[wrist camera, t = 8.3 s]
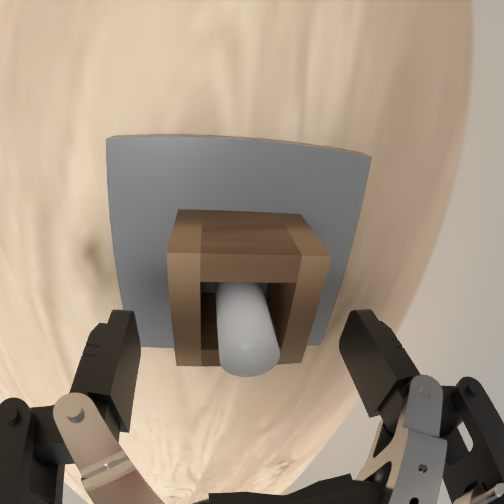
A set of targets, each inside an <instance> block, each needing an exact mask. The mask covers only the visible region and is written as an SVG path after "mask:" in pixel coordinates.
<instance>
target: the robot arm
mask: <svg viewBox="0 0 504 504" xmlns="http://www.w3.org/2000/svg"><path fill="white" fill-rule="evenodd" d="M339 349H340V353H341V355H342V357H343V360H344V362H345V364H346V366H347V368H348V371H349V373H350V375H351V377H352V379H353V381H354V384H355V386H356V388H357V390H358V393H359V395H360V397H361V399H362V402H363V404H364V406H365V408H366V411H367V413H368V415H369V417H374V416H378V415H381V417H382V420H381V421H380V423H379V426H378V429H377V432H376V436H375V439H374V442H373V445H372V448H371V451H370V454H369V457H368V459H367V462H366V463H365V465H364V467H363V468H362V469H361V471H360V472H359V474H358V476H357V478H356V480H352V477H351V474H346V475H343V476H339V477H335V478H331V479H326V480H322V481H318V482H316V483H314V484H312V485H309V486H307V487H305V488H303V489H300V490H298V491H296V492H293V493H291V494H288V495H271V494H261V493H252V492H234V493H209V499H206V500H202V501H199V502H196V503H193V504H436V503H437V499H438V495H439V490H440V486H441V481H442V478H443V480H444V483H445V486H446V488H447V491H448V494H449V497H450V499H451V502H452V504H504V423H503V421H502V420H501V418H500V416H499V414H498V412H497V410H496V409H495V407H494V405H493V403H492V402H491V400H490V398H489V397H488V395H487V393H486V392H485V390H484V388H483V387H482V385H481V384H480V383H479V382H478V381H477V380H475V379H474V378H472V377H463V378H462V379H461V380H460V381H459V382H458V384H457V385H456V386H441V385H440V384H439V383H438V381H436V380H435V379H434V378H432V377H430V376H428V375H421V374H420V373H419V371H418V370H417V368H416V367H415V365H414V363H413V362H412V360H411V359H410V357H409V356H408V354H407V352H406V351H405V349H404V348H402V345H401V343H400V342H399V340H397V337H396V336H395V334H394V333H393V331H392V330H391V328H389V327H388V326H387V325H386V324H385V323H383V322H382V321H379V320H378V319H377V317H376V316H375V314H374V313H373V311H372V310H370V309H365V310H353V311H351V312H350V314H349V316H348V319H347V322H346V324H345V327H344V330H343V332H342V335H341V337H340V341H339ZM140 356H141V344H140V338H139V333H138V328H137V323H136V318H135V313H134V311H129V310H113V311H112V312H111V315H110V318H109V321H108V323H107V324H106V323H99V324H98V325H97V326H96V327H95V328H94V329H93V330H92V331H91V332H90V335H89V337H88V340H87V343H86V346H85V348H84V351H83V356H82V357H81V360H80V362H79V365H78V368H77V371H76V374H75V378H74V381H73V384H72V387H71V390H70V392H69V394H66V395H64V396H62V397H61V398H60V399H59V400H58V401H57V402H56V404H55V405H52V406H45V407H33V408H29V406H28V405H27V404H26V403H25V402H24V401H23V400H21V399H19V398H9V399H6V400H4V401H3V402H2V403H1V404H0V504H62V496H63V481H64V470H65V464H76V466H77V468H78V469H79V471H80V473H81V476H82V478H81V481H82V484H83V486H84V488H85V490H86V492H87V493H88V495H89V497H90V498H91V500H92V501H93V503H94V504H165V503H164V502H163V501H162V500H161V499H160V498H159V497H158V495H157V494H156V493H155V492H154V491H153V489H152V488H151V487H150V486H149V484H148V483H147V482H146V481H145V479H144V478H143V477H142V476H141V474H140V473H139V472H138V470H137V469H136V468H135V466H134V465H133V463H132V462H131V461H130V459H129V458H128V456H127V455H126V454H125V452H124V451H123V449H122V448H121V446H120V445H119V443H118V442H119V434H120V432H127V433H129V430H130V421H131V414H132V406H133V399H134V392H135V386H136V380H137V374H138V368H139V362H140ZM462 422H464V424H465V426H466V428H467V430H468V432H469V434H470V436H471V438H472V440H473V448H472V450H471V451H470V452H469V451H468V450H467V447H466V445H465V443H464V441H463V439H462V437H461V435H460V432H459V430H458V428H457V427H458V426H459V425H460V424H461V423H462Z"/></svg>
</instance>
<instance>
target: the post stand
mask: <svg viewBox="0 0 504 504" xmlns="http://www.w3.org/2000/svg"><path fill="white" fill-rule="evenodd" d="M371 158H372V157H371V156H368V155H366V154H363V153H360V152H354V151H349V150H343V149H337V148H331V147H325V146H318V145H311V144H304V143H296V142H287V141H278V140H269V139H258V138H246V137H231V136H212V135H125V136H112V137H110V138H107V139H106V159H107V184H108V200H109V212H110V223H111V232H112V241H113V249H114V256H115V263H116V270H117V276H118V282H119V288H120V293H121V299H122V304H123V309H124V310H129V311H134V313H135V318H136V323H137V328H138V333H139V338H140V344H141V346H142V347H160V348H174V340H173V331H172V321H171V310H170V298H169V285H168V270H167V249H168V245H169V241H170V237H171V234H172V230H173V226H174V223H175V219H176V215H177V212H178V209H193V210H226V211H251V212H272V213H290V214H301V215H302V217H303V218H304V219H305V221H306V222H307V223H308V225H309V226H310V227H311V229H312V230H313V231H314V233H315V234H316V235H317V237H318V238H319V239H320V241H321V242H322V243H323V245H324V246H325V248H326V249H327V250H328V252H329V253H330V255H331V256H332V257H331V261H330V265H329V269H328V273H327V277H326V280H325V284H324V288H323V291H322V295H321V299H320V302H319V306H318V309H317V313H316V316H315V319H314V323H313V326H312V329H311V333H310V336H309V339H308V342H307V345H320V344H321V342H322V339H323V336H324V334H325V331H326V328H327V325H328V322H329V319H330V316H331V313H332V310H333V307H334V304H335V300H336V297H337V294H338V291H339V287H340V284H341V281H342V277H343V274H344V271H345V267H346V264H347V260H348V256H349V253H350V249H351V245H352V242H353V238H354V234H355V230H356V226H357V222H358V218H359V214H360V210H361V205H362V201H363V196H364V192H365V187H366V183H367V178H368V173H369V168H370V163H371ZM267 284H268V283H246V282H201V293H215V294H216V312H217V329H218V345H219V359H220V365H221V367H222V368H223V369H224V370H225V371H226V372H228V373H230V374H232V375H235V376H241V377H251V376H256V375H260V374H263V373H265V372H267V371H269V370H270V369H272V368H273V367H274V366H275V365H276V364H277V363H278V361H279V358H280V350H279V347H278V343H277V339H276V336H275V332H274V328H273V325H272V321H271V318H270V314H269V310H268V307H267V303H266V299H265V296H264V293H266V291H267Z"/></svg>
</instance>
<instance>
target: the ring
mask: <svg viewBox="0 0 504 504" xmlns="http://www.w3.org/2000/svg"><path fill="white" fill-rule="evenodd" d="M331 257H332V256H331V255H330V253H329V252H328V250H327V249H326V248H325V246H324V245H323V243H322V242H321V241H320V239H319V238H318V237H317V235H316V234H315V233H314V231H313V230H312V229H311V227H310V226H309V225H308V223H307V222H306V221H305V219H304V218H303V217H302V215H301V214H290V213H272V212H251V211H226V210H193V209H178V212H177V215H176V219H175V223H174V226H173V230H172V234H171V237H170V241H169V245H168V249H167V270H168V285H169V298H170V310H171V321H172V331H173V340H174V349H175V357H176V365H177V366H221V365H220V359H219V345H218V329H217V312H216V294H215V293H201V282H246V283H268V284H267V291H266V293H264V296H265V299H266V303H267V307H268V310H269V314H270V318H271V321H272V325H273V328H274V332H275V336H276V339H277V343H278V347H279V350H280V358H279V361H278V363H277V364H287V363H300V362H301V361H302V358H303V355H304V352H305V349H306V346H307V342H308V339H309V336H310V333H311V329H312V326H313V323H314V319H315V316H316V313H317V309H318V306H319V302H320V299H321V295H322V291H323V288H324V284H325V280H326V277H327V273H328V269H329V265H330V261H331Z"/></svg>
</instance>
